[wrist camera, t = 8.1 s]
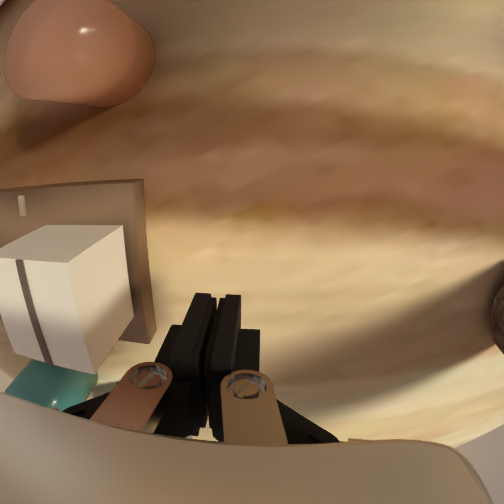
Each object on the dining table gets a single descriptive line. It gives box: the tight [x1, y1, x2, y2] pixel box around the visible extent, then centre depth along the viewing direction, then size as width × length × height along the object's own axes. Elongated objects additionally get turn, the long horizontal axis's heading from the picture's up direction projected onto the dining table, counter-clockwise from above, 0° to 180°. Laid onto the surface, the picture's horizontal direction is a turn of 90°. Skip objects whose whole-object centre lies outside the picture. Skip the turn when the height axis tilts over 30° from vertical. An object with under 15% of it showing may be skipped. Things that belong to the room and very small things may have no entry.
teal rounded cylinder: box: [5, 359, 98, 412], centre depth 17 cm, size 5×5×6 cm
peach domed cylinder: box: [4, 0, 155, 107], centre depth 10 cm, size 5×5×6 cm
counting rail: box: [0, 179, 157, 344], centre depth 16 cm, size 9×21×2 cm, turn 88°
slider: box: [0, 225, 134, 375], centre depth 13 cm, size 5×5×5 cm
